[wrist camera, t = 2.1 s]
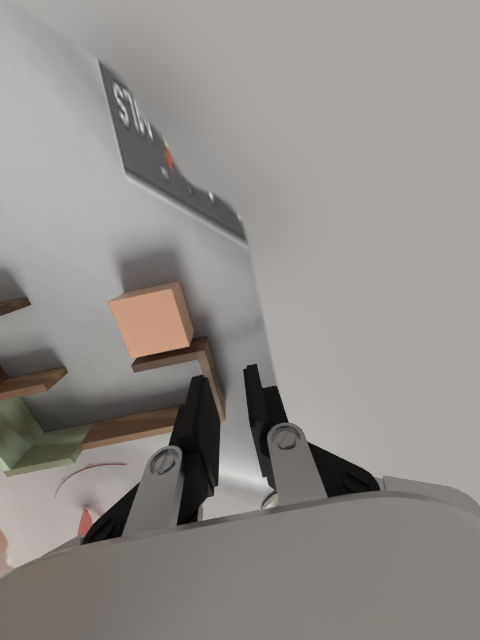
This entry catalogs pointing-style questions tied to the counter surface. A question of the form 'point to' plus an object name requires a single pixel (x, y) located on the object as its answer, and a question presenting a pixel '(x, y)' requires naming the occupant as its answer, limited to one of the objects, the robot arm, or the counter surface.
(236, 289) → the counter surface
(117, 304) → the terracotta block
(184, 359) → the box
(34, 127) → the counter surface
